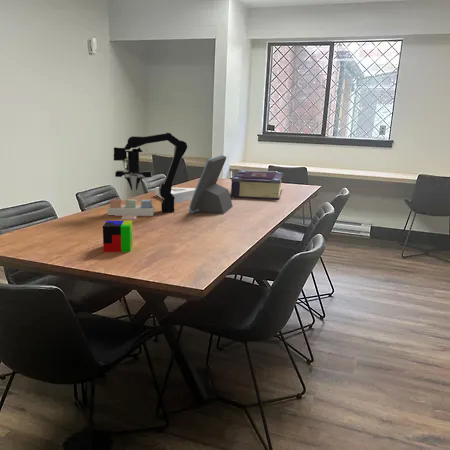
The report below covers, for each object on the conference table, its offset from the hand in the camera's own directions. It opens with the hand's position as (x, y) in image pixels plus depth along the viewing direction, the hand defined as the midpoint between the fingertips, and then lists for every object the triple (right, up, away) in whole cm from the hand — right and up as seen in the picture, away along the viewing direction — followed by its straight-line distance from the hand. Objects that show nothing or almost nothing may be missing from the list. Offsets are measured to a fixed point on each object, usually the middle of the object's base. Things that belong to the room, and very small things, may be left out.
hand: (134, 190), depth 249 cm
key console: (-1, -13, -3) cm, 13 cm away
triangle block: (+14, -2, +49) cm, 51 cm away
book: (+71, +3, +75) cm, 104 cm away
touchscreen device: (+41, -10, +17) cm, 45 cm away
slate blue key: (+7, -11, -3) cm, 13 cm away
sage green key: (-1, -11, -4) cm, 11 cm away
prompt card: (0, -15, -11) cm, 19 cm away
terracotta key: (-9, -11, -4) cm, 14 cm away
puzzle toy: (+7, -28, -66) cm, 72 cm away
